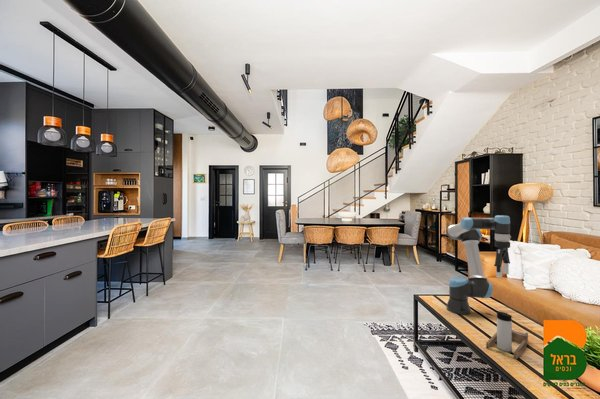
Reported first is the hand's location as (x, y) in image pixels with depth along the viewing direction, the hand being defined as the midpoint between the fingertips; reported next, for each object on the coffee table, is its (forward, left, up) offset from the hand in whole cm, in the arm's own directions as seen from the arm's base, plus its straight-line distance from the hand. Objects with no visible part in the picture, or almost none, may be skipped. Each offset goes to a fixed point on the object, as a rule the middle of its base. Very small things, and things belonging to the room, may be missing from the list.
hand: (502, 275), depth 158 cm
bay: (+6, -14, -35) cm, 38 cm away
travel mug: (+6, -23, -35) cm, 42 cm away
